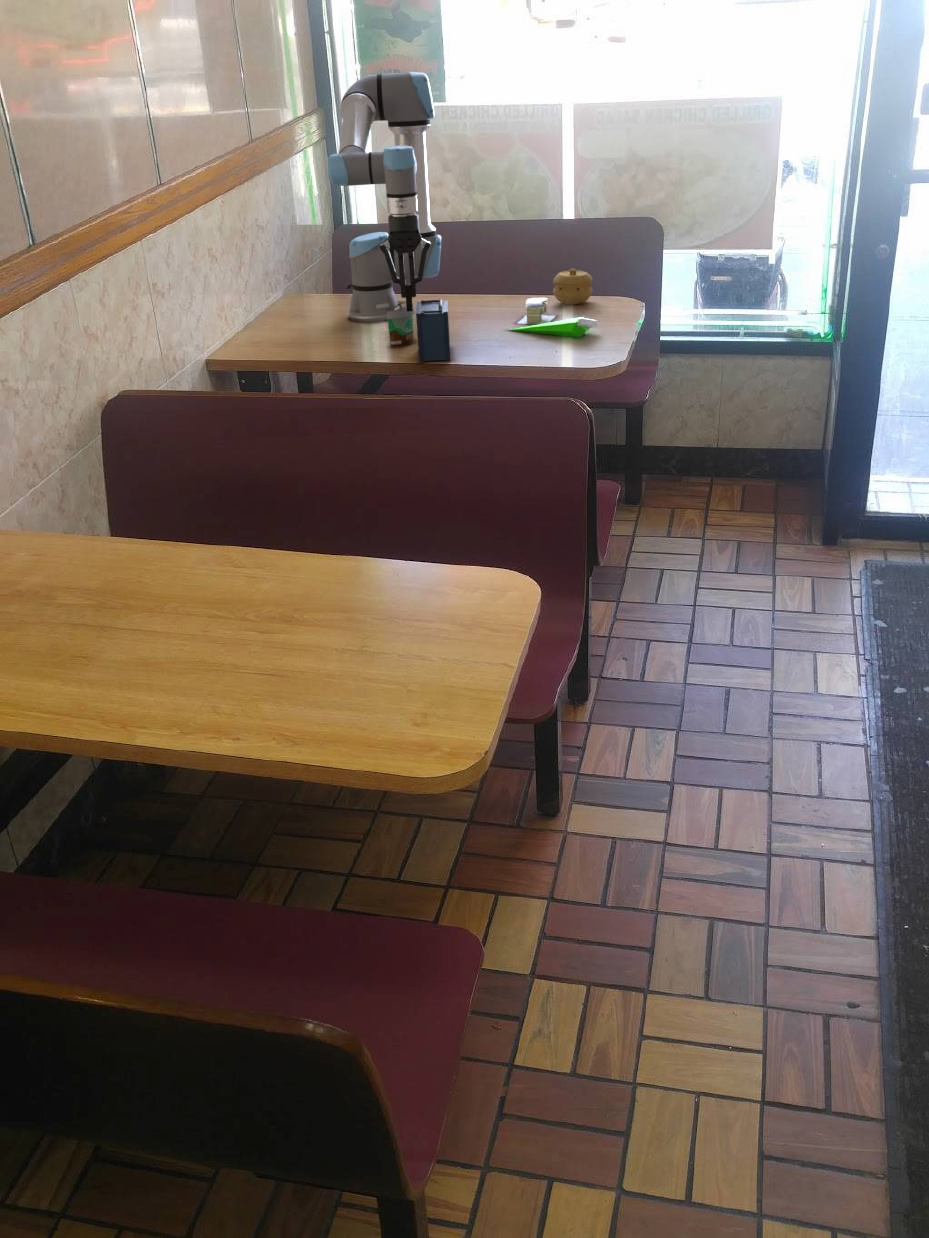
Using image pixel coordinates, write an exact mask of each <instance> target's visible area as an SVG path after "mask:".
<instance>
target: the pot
mask: <svg viewBox="0 0 929 1238" xmlns="http://www.w3.org/2000/svg"><path fill="white" fill-rule="evenodd" d="M593 281H594V280H593V277H592V275H590V273H588V272H587V271H584V270H579V269H576V268H570V269H569V270H563V271H561V272H558V273H557V274H556V275H555V276H554V278H553V285H554V287H553V290H552V293H553V296H554V297H555V299H556V300H557V301H558V302H559V303H560V304H561V303H562V304H564V305H580V304H583V303H586V302H587V301H588V300H589V299H590V297H591V296H592V295H593V291H594V289H593V287H592V285H591V284H592V283H593Z"/></svg>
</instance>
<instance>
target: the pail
mask: <svg viewBox="0 0 929 1238" xmlns="http://www.w3.org/2000/svg"><path fill="white" fill-rule="evenodd" d="M448 302H449V301H448V299H447V300H442V299H441V298H439V299H428V300H427V299H426V300H424V299H422V300H421V301H416V308H415V311H416V312H415V318H416V319H415V320H416V334H417V346H418V347H417V349H418V361H419V364H422V363H424V362H429V361H430V362H432V361H433V362H434V361H435V362H436V361H446V362H451V340H450V337H451V336H450V321H449V305H448Z"/></svg>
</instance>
